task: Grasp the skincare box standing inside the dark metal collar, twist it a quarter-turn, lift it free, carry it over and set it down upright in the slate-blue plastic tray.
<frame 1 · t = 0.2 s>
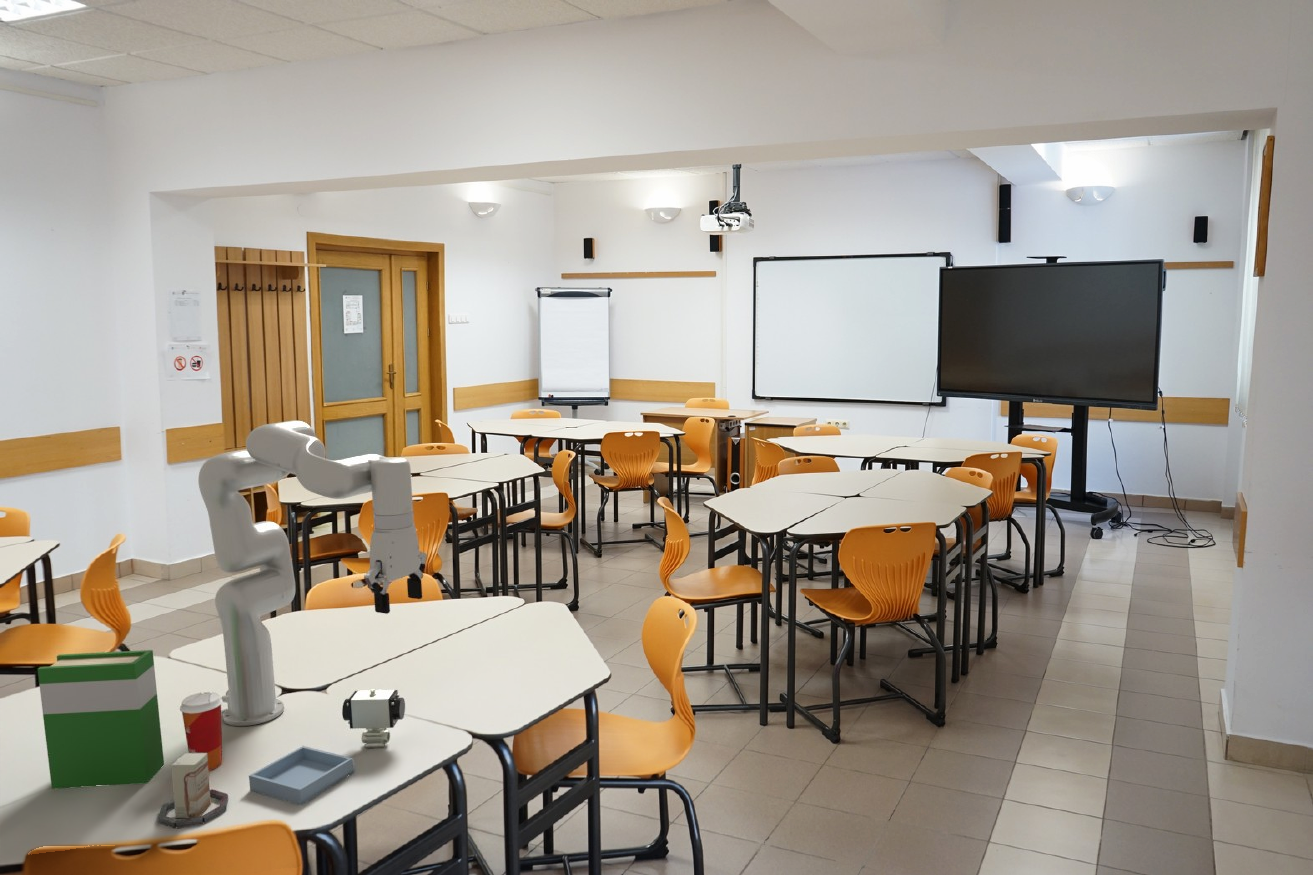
hand: (399, 605, 187), 31 cm above the table, tool pointing down, fingers open, 9 cm apart
pneumatic valve: (377, 744, 196), on the table
collar: (194, 810, 171), on the table
paper cup: (207, 766, 188), on the table
hardback book: (109, 777, 185), on the table
skincare box: (194, 811, 171), resting in collar
tray: (302, 781, 181), on the table
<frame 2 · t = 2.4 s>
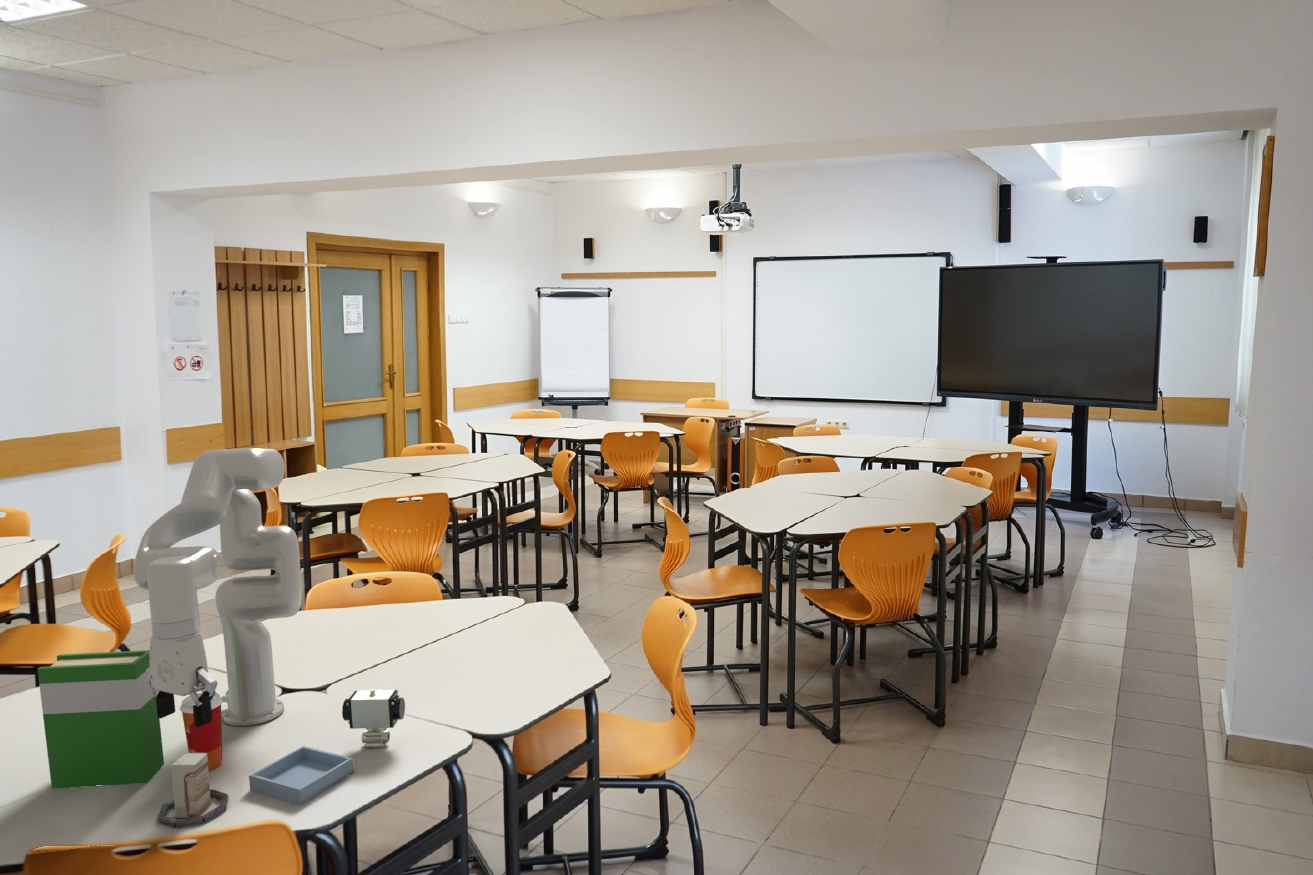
hand: (184, 719, 168), 17 cm above the table, tool pointing down, fingers open, 9 cm apart
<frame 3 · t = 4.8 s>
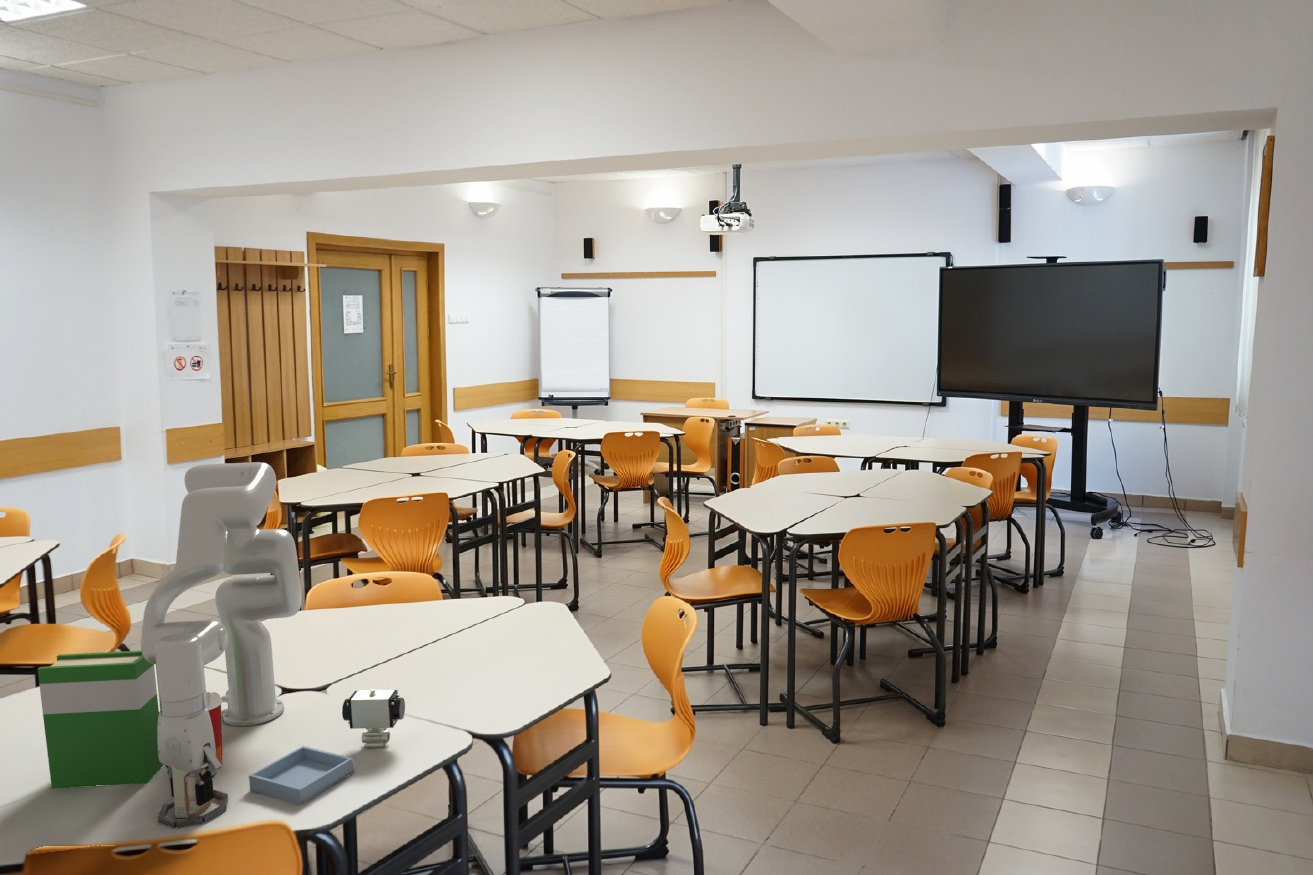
hand: (192, 797, 171), 3 cm above the table, tool pointing down, fingers closed on skincare box, 5 cm apart
skincare box: (194, 811, 171), resting in collar, touching gripper
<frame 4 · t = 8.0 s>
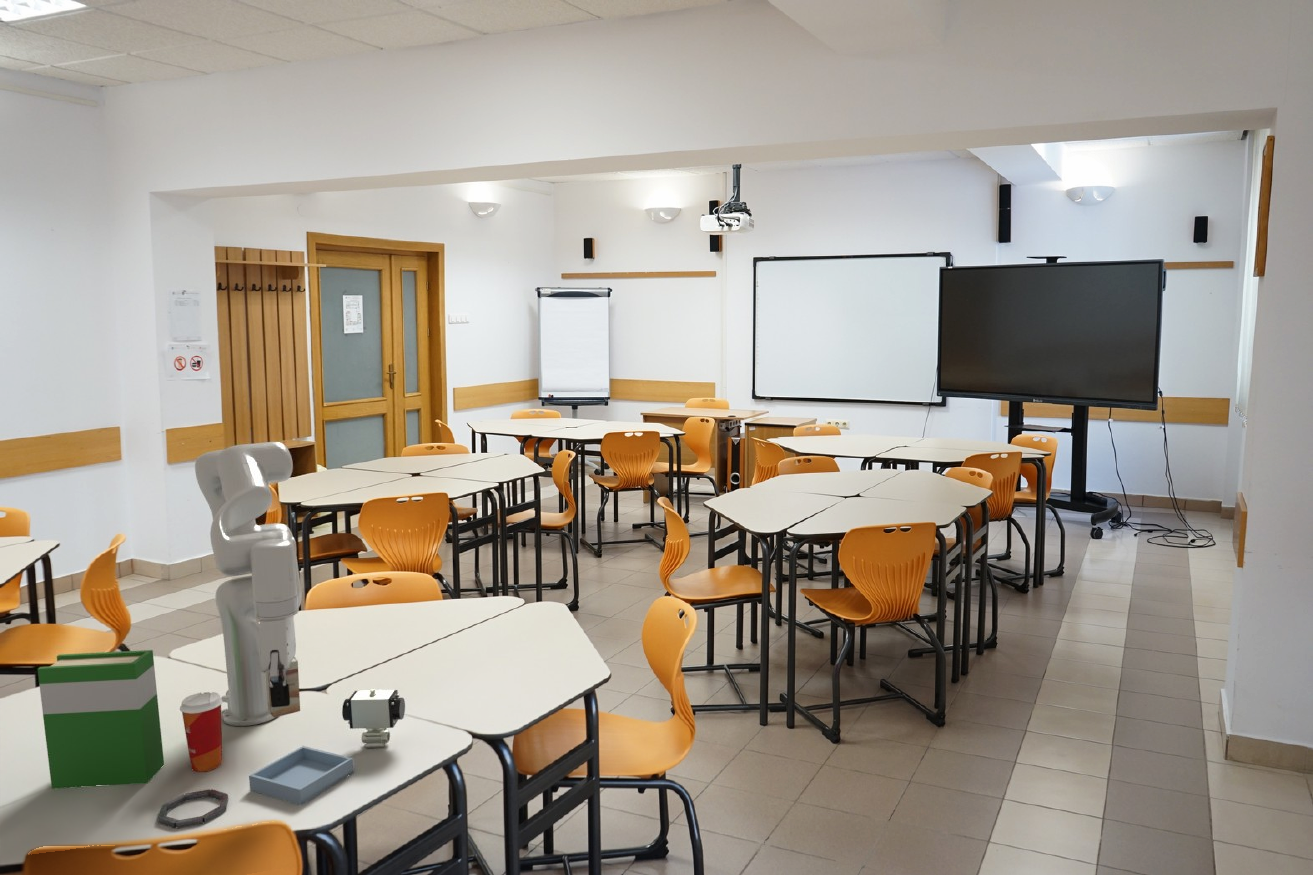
hand: (283, 697, 177), 17 cm above the table, tool pointing down, fingers closed on skincare box, 5 cm apart
skincare box: (284, 711, 178), point 15 cm above the table, touching gripper
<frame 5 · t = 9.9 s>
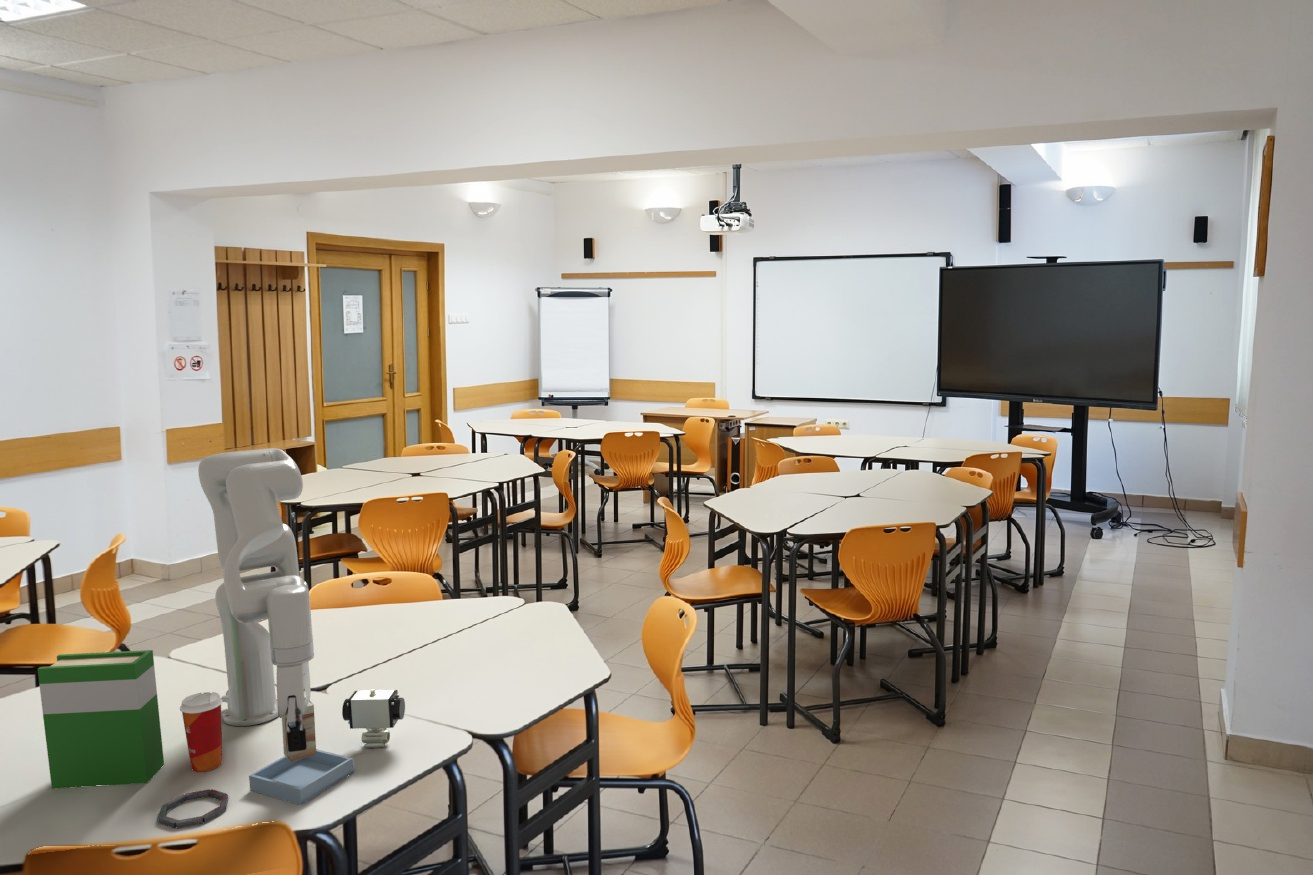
hand: (299, 741, 180), 8 cm above the table, tool pointing down, fingers closed on skincare box, 5 cm apart
skincare box: (301, 755, 180), point 5 cm above the table, touching gripper
when the fingers open (5 cm above the table, at t = 11.4 s): skincare box drops 2 cm, resting on tray.
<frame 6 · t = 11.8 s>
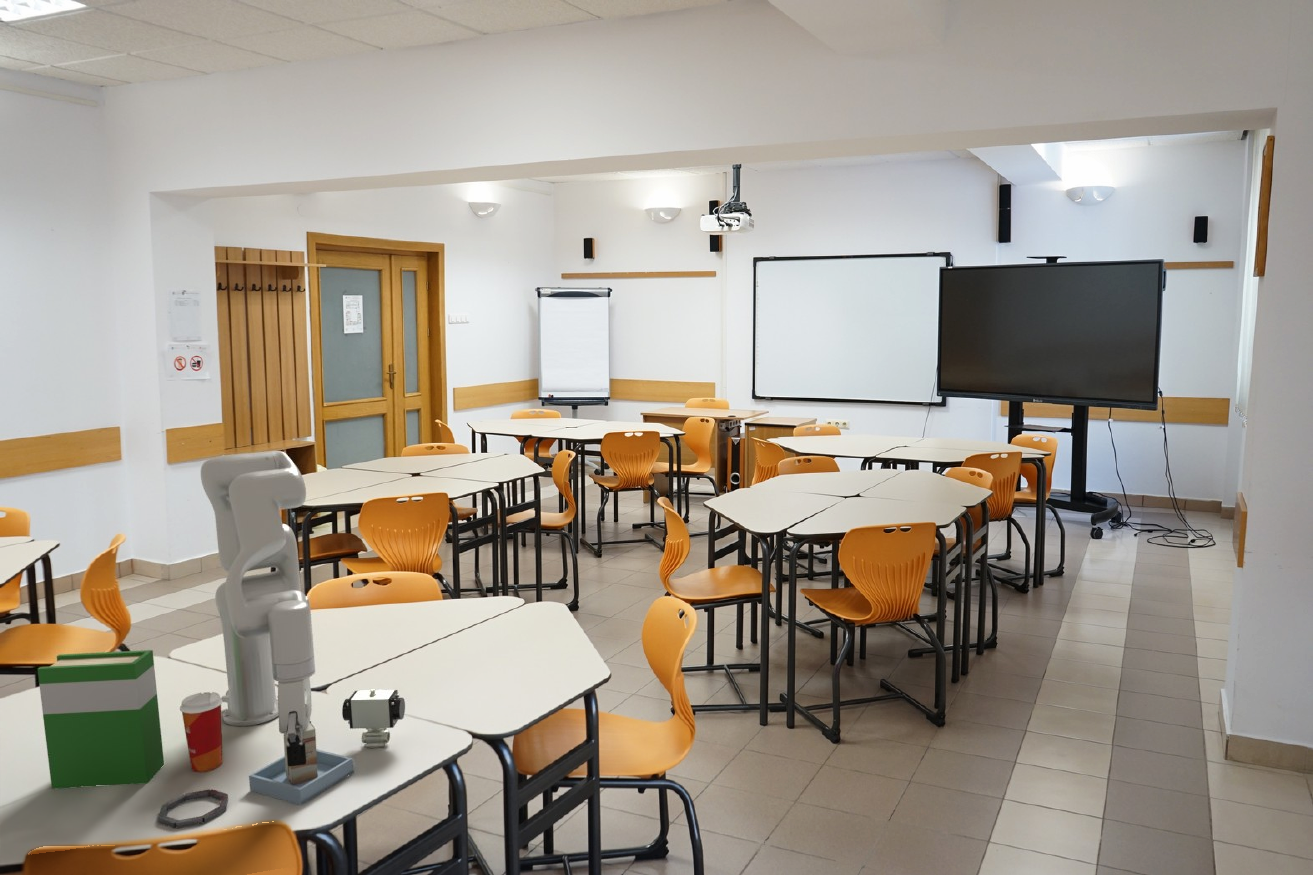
hand: (300, 753, 180), 6 cm above the table, tool pointing down, fingers open, 9 cm apart
skincare box: (302, 778, 181), resting on tray
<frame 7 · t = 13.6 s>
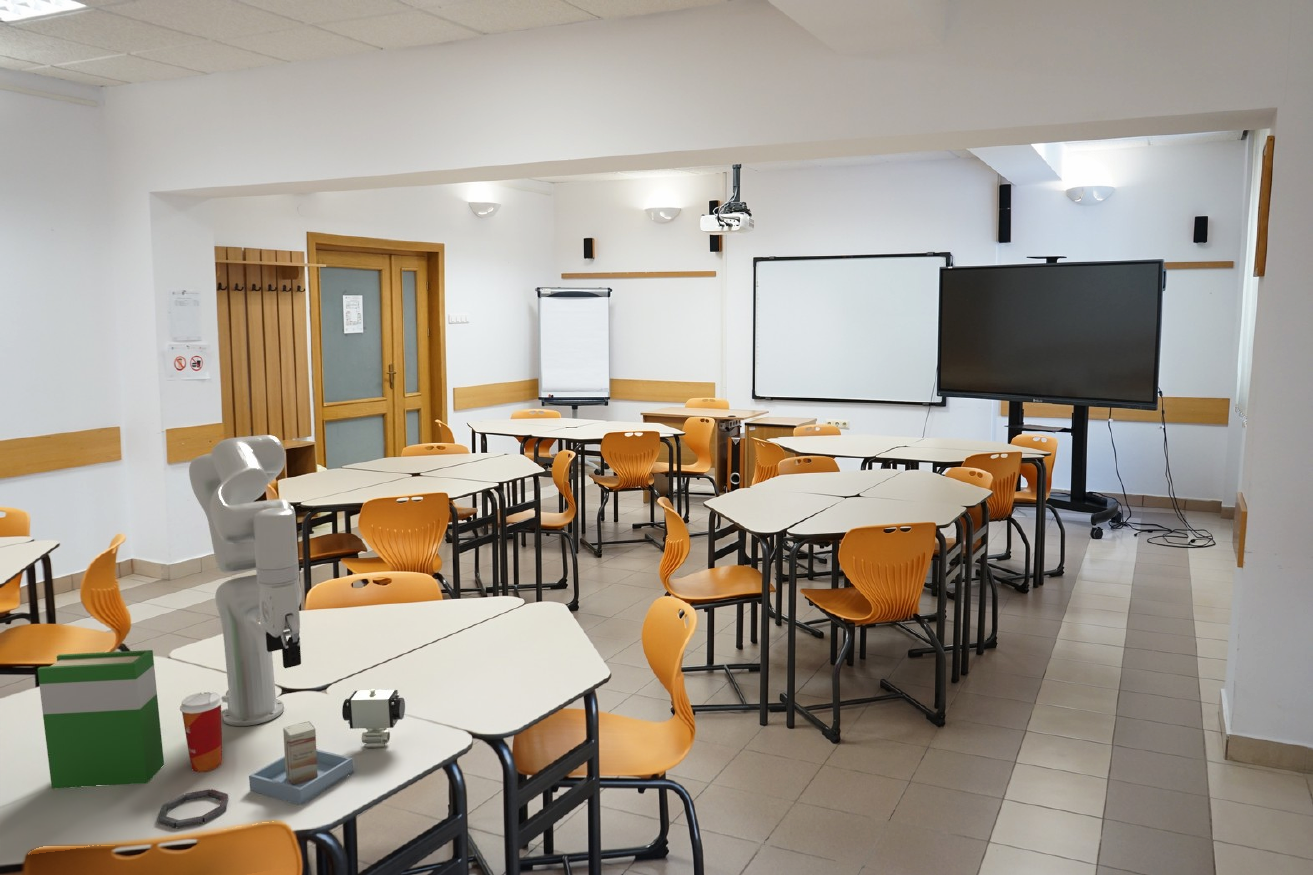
hand: (283, 657, 183), 23 cm above the table, tool pointing down, fingers open, 9 cm apart
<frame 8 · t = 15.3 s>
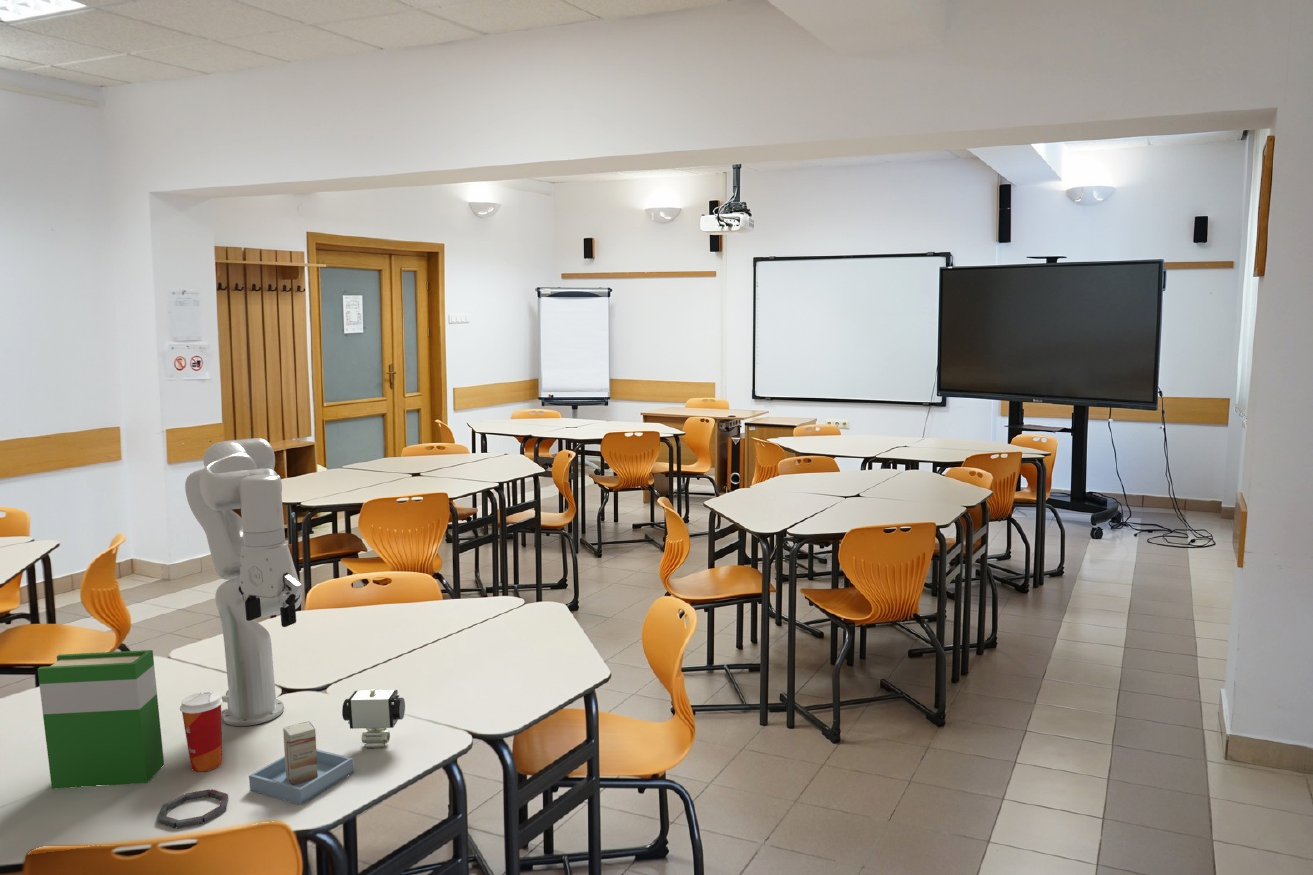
hand: (271, 621, 188), 28 cm above the table, tool pointing down, fingers open, 9 cm apart
at the end: skincare box inside the target area on the tray (0.4 cm from its centre), point 0.4 cm above the tray's base; skincare box tilted 0°; the gripper is holding nothing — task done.
